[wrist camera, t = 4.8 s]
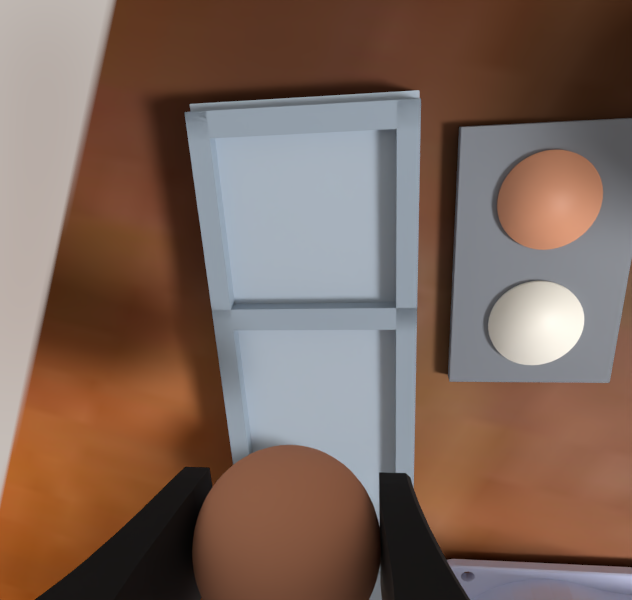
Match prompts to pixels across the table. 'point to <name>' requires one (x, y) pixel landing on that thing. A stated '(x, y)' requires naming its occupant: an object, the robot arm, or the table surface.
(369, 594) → the rust ball
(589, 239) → the card
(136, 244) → the table surface
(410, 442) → the board
